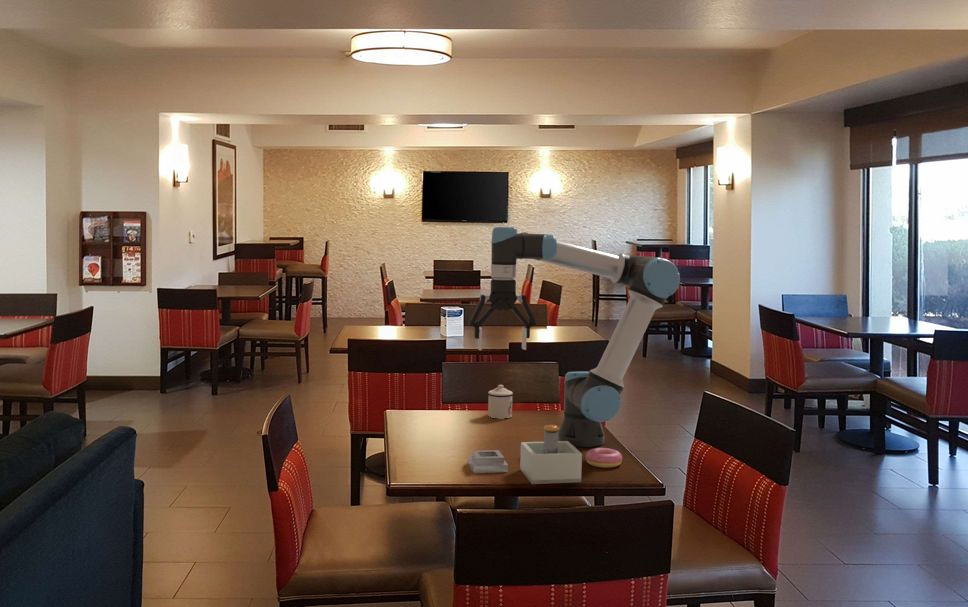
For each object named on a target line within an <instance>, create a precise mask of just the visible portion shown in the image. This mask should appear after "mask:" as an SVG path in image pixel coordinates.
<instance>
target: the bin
mask: <svg viewBox="0 0 968 607" xmlns="http://www.w3.org/2000/svg"><path fill="white" fill-rule="evenodd" d="M519 459H520V461H519V462H520V464H519V465H520V466H519V467H520V468H519V469H520V470H519V471H521V472H522V474H523V475H524V476H525V478H527V480H528V481H529V482H530V484H531V485H536V484H537V485H540V484H541V485H542V484H545V485H546V484H565V483H566V484H568V483H569V484H570V483H571V484H572V483H582V470H583V469H582V465H583V464H582V463H583V462H582V461H583V453H582V452H580V450H578V449H577V447H576V446H573V445H572V444H571V443H570V442H568V441H558V453H554V454H544V441H526V442H525V441H521V442H520V458H519Z"/></svg>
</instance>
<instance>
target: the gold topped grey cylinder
mask: <svg viewBox="0 0 968 607" xmlns="http://www.w3.org/2000/svg"><path fill="white" fill-rule="evenodd" d="M559 429H560V426H559V425H556V424H545V425H543V442H544V454H554V453H558V432H559Z"/></svg>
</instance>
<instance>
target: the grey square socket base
mask: <svg viewBox="0 0 968 607" xmlns="http://www.w3.org/2000/svg"><path fill="white" fill-rule="evenodd" d="M467 464H468V467H469V468H470V470H471V469H472V470H471V471H472V473H473V474H488V473H489V474H490V473H492V474H493V473H509V464H508V463H507V461H506V460H505V456H504V455H503V454H502V452H501V451H500V450H499V449H490V450H488V449H487V450H486V449H485V450H471V456H467Z"/></svg>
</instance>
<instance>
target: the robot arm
mask: <svg viewBox="0 0 968 607" xmlns="http://www.w3.org/2000/svg"><path fill="white" fill-rule="evenodd" d="M490 243H491V264H490V266H491V268H490V278H492V279H491V280H490V292H489V295H484V294H479V300H478V303H477V305H476V307H475V309H474V310H473V313H472V315H471V317H470V319H469V320H468V325H469V326H470V327H474V336H473V337H474V339H477V350H479V351H483V350H482V345H483V344H482V343H483V328H482V327H481V326H482V325H483V324H484V323H485V321H486V320H487V319H488V318H489V317H490V316H491V314H492V313H494V312H495V310H498V311H503V310H505V311H509V310H511V311H512V312H513V314H515V316H516V317H517V318H518V319H519V320H520V322H521V323H522V325H524V326H522V327H521V349H522V350H524V351H526V350H527V339H530V337H531V328H532V327H534V326H536V325H537V322H536V320H535V318H534V315H533V314H532V312H531V308H530V307H529V304H528V303H527V295H525V294H520V295H517V294H516V291H517V281H516V280H515V279H516V278H517V260H519V259H520V260H535V261H539V262H544V263H548V264H552V265H556V266H558V267H559V266H560V267H563V268H564V267H565V268H567V269H572V270H575V271H580V272H584V273H589V274H593V275H597V276H600V277H605V278H608V279H610V280H611V281H612V283H615V284H619V285H623V286H625V287H627V288H628V291H627V293H628V295H629V298H628V299H629V300H628V302H627V303H626V306H625V308H624V310H623V312H622V314H621V317H620V318H619V321H618V322H617V325H616V327H615V329H614V331H613V333H612V335H611V337H610V339H609V341H608V343H607V346H606V348H605V349H604V352H603V354H602V356H601V358H600V360H599V362H598V365H597V366H596V367H595V368H593V369H590V370H589V371H584V370H583V371H568V372H567V373H565V375H564V382H563V383H564V391H563V392H564V395H563V396H564V399H563V417H562V418H563V419H562V421H561V423H560V426H559V432H558V441H568V442H570V443H571V444H572V445H573V446H574V447H575V448H577V447H580V448H591V447H600V446H602V445H604V444H605V439H606V438H605V433H604V429H603V426H602V423H604V422H609V421H611V420H612V419H614V418H615V417H616V416H617V415H618V413H619V411H620V410H621V408H622V399H621V394H622V393H623V391H624V388H625V385H624V382H623V379H624V376H625V375H626V372H627V370H628V368H629V366H630V365H631V362H632V360H633V357H634V356H635V354H636V351H637V349H638V348H639V345H640V342H642V339H643V337H644V334H645V333H646V330H647V329H648V326H649V324H650V322H651V320H652V318H653V316H654V314H655V311H656V310H658V309H661V308H663V306H664V305H665V303H666V300H667V299H668V297H671V296H672V295H673V294H674V293H676V291H677V290H678V288H679V286H680V283H681V276H680V275H681V274H680V272H679V270H678V267H677V266H676V264H675V263H673V262H672V261H671V260H669V259H666V258H663V257H659V256H658V257H655V256H649V255H648V256H647V255H630V254H626V253H622V252H621V253H618V254H617V255H616V254H612V253H609V252H606V251H600V250H596V249H593V248H587V247H584V246H580V245H577V244H572V243H569V242H564V241H560V240H557V238H556V237H555V235H554V234H548V233H529V232H520V233H519V232H518V228H517V227H515V226H514V227H513V226H495V227H493V229H492V232H491V241H490ZM488 301H490V305H489V306H488V308H487V309H486V310H485V311H484V312H483V314H481V316H480V313H481V311H482V309H483V307H484V305H485V303H487V302H488ZM517 301H518V302H519V303H521V306H522V308H523V311H524V313H525V314H526V317H527V319H528V320H527V319H526V318H525V317H524V315H523V314H522V313H521V312H520V310H519V309H518V308H517V306H516V305H515V304H516V302H517ZM479 316H480V317H479ZM478 317H479V319H478Z"/></svg>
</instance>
